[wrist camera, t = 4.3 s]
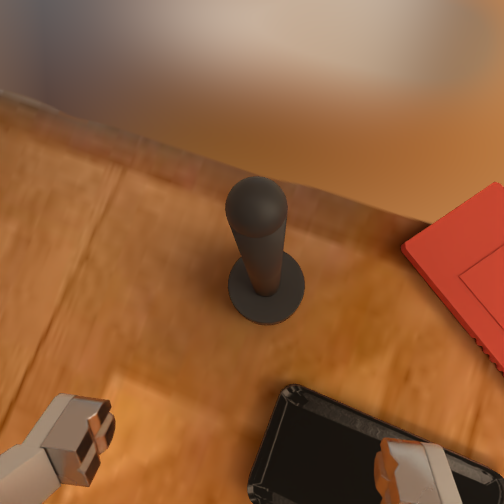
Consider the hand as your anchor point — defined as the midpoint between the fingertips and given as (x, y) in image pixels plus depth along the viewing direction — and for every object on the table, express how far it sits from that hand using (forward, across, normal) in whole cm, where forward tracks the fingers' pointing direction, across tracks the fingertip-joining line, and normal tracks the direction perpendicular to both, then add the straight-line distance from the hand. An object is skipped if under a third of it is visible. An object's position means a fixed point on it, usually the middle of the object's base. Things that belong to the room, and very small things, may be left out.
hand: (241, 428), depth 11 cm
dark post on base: (+15, 0, +6) cm, 16 cm away
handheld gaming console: (+12, -23, +9) cm, 27 cm away
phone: (+7, -8, +15) cm, 18 cm away
